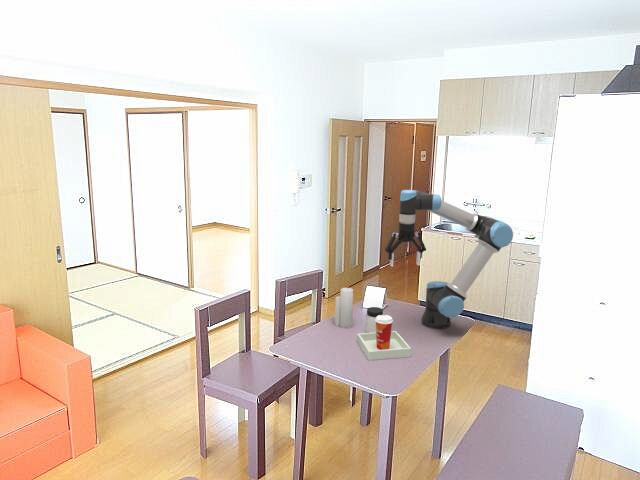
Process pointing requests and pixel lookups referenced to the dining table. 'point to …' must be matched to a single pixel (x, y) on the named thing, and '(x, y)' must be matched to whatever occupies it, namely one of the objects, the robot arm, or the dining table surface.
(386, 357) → the bin
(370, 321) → the jar
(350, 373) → the dining table surface
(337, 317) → the candle
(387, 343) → the coffee cup
